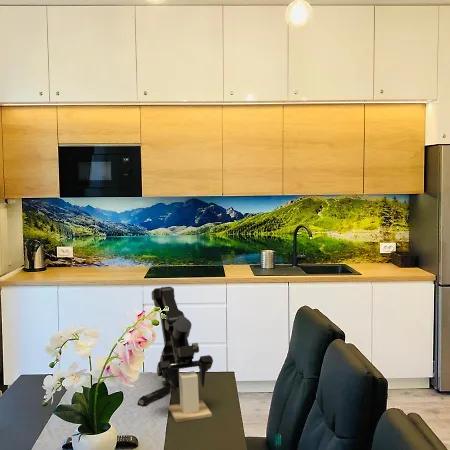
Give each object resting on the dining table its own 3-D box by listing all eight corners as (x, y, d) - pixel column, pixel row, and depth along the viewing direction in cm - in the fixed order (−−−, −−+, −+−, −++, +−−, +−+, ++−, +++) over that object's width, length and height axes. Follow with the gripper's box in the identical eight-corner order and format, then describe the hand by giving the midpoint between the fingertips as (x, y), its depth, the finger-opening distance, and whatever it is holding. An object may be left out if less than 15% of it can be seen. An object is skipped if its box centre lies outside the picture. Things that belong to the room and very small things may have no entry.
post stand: (168, 408, 186) (168, 395, 186) (202, 402, 190) (201, 390, 189) (176, 422, 175) (175, 408, 174) (211, 416, 178) (211, 403, 178)
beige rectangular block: (180, 407, 184) (178, 373, 183) (195, 405, 185) (193, 371, 184) (183, 413, 179) (182, 378, 178) (199, 411, 180) (197, 375, 179)
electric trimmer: (174, 393, 201) (173, 385, 200) (144, 407, 188) (144, 398, 188) (166, 391, 203) (166, 383, 203) (136, 405, 190) (136, 396, 190)
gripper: (156, 338, 181) (164, 381, 172) (210, 332, 187) (221, 373, 177) (153, 354, 189) (160, 397, 180) (205, 348, 195) (215, 388, 185)
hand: (189, 388), depth 180 cm, fingers open, 9 cm apart
